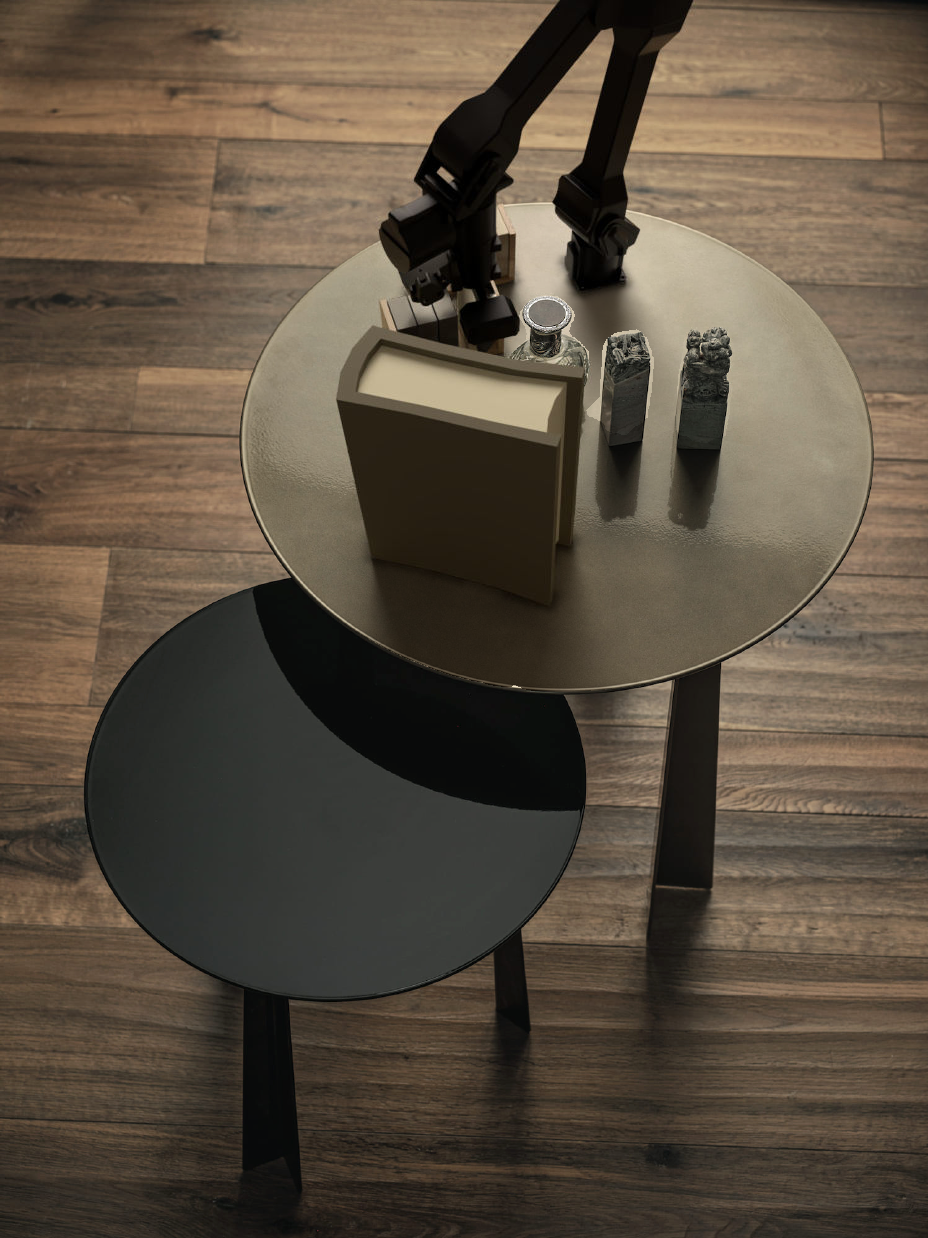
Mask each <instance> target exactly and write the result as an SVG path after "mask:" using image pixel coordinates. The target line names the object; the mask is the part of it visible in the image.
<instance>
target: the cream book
mask: <svg viewBox="0 0 928 1238" xmlns="http://www.w3.org/2000/svg"><path fill="white" fill-rule="evenodd" d="M474 301H476V299H475V297H474V295H473V292H472V290H471V289H465V288H464V287H463V290H462V291H458V292H457V297H456V304H457V305H456V307H457V308H456V311H457V315H458V327H459V329H460V332H461V334H462V337H463V340H464V342H465V345H466V347H467V349H470V350H474V351H477V347H476V345H471V344H469V343H468V342H467V340H466V337H465V335H464V332H463V330H462V327H461V325H460V322H459V320H460V316H459V311H460V310H461V309H462V307H463V306H464V305H465V304H466V303H469V302H474Z"/></svg>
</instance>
